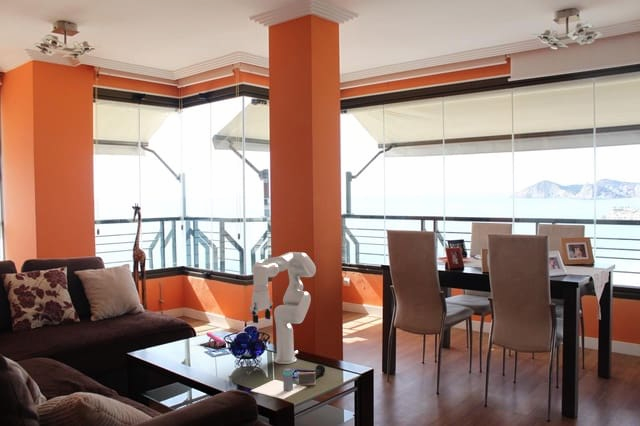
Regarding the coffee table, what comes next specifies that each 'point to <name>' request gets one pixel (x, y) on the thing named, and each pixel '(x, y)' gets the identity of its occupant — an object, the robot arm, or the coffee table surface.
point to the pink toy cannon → (214, 342)
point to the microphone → (319, 370)
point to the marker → (288, 379)
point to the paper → (277, 389)
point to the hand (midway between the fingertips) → (261, 320)
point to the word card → (306, 378)
